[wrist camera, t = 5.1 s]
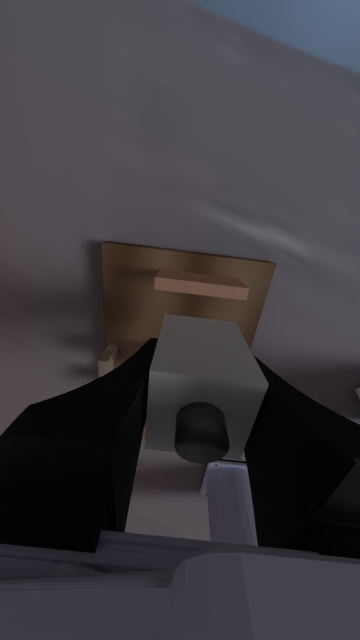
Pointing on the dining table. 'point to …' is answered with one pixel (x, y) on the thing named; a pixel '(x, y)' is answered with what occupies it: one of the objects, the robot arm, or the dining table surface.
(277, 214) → the dining table surface
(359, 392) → the syrup box
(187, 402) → the block
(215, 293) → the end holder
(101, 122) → the dining table surface
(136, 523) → the dining table surface
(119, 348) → the board
